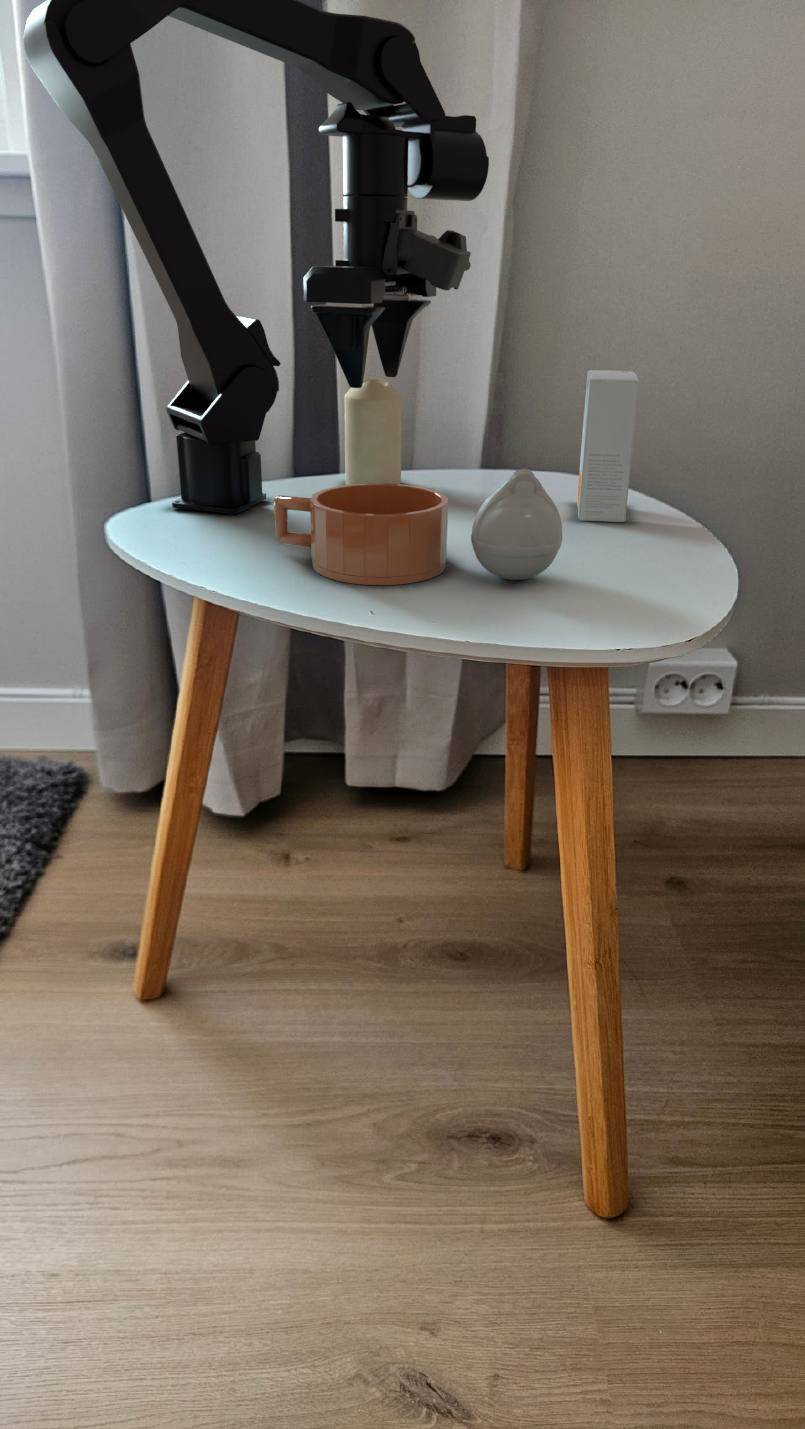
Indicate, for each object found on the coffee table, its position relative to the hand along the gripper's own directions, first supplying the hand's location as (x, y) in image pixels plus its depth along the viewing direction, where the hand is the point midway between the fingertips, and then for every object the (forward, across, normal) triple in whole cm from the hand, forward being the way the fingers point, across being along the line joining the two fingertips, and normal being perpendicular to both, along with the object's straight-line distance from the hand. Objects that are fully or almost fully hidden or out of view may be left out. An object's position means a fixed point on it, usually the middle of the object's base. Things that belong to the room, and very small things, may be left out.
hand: (374, 382), depth 95 cm
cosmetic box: (+10, -2, -23) cm, 25 cm away
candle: (+10, 0, 0) cm, 10 cm away
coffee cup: (+10, -25, -8) cm, 28 cm away
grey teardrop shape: (+10, -24, -20) cm, 33 cm away
